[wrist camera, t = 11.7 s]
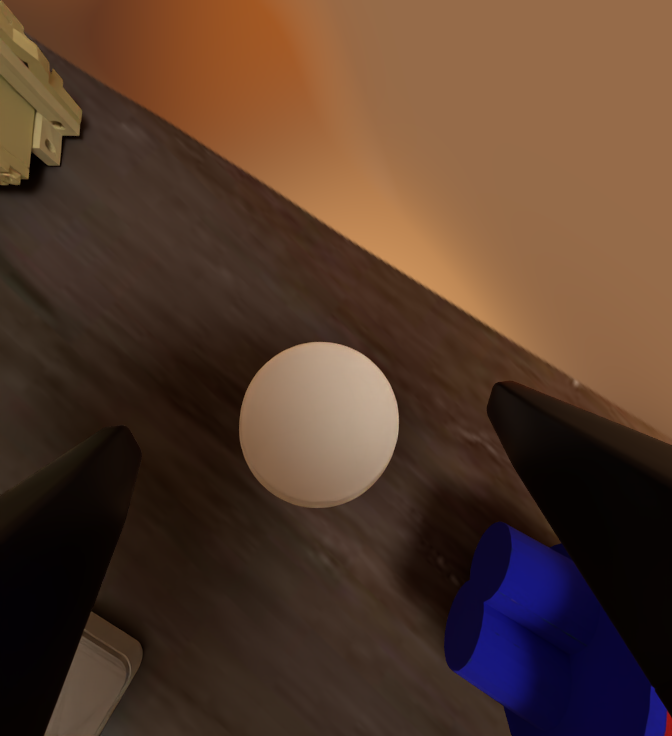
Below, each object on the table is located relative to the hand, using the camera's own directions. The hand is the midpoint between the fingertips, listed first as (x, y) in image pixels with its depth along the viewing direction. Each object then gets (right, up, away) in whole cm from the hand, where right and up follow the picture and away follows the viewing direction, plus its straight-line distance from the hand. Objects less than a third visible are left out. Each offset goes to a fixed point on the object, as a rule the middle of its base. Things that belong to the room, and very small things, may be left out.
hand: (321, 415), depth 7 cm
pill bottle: (-1, -2, +10) cm, 10 cm away
